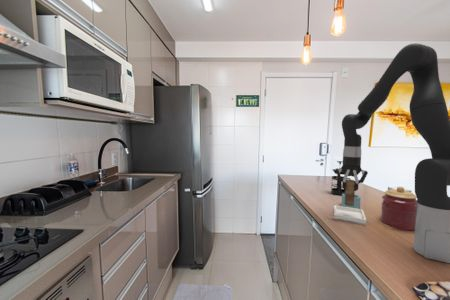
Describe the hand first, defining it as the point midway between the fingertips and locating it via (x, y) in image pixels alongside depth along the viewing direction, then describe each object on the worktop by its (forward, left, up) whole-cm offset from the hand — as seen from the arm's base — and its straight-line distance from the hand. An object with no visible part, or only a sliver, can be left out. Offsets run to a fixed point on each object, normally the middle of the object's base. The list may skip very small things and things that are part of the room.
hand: (350, 189), depth 101 cm
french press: (+41, +3, -14) cm, 43 cm away
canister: (+1, -20, -14) cm, 24 cm away
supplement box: (+21, -24, -14) cm, 34 cm away
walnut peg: (0, 0, -7) cm, 7 cm away
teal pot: (+15, -2, -14) cm, 20 cm away
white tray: (0, 0, -14) cm, 14 cm away
